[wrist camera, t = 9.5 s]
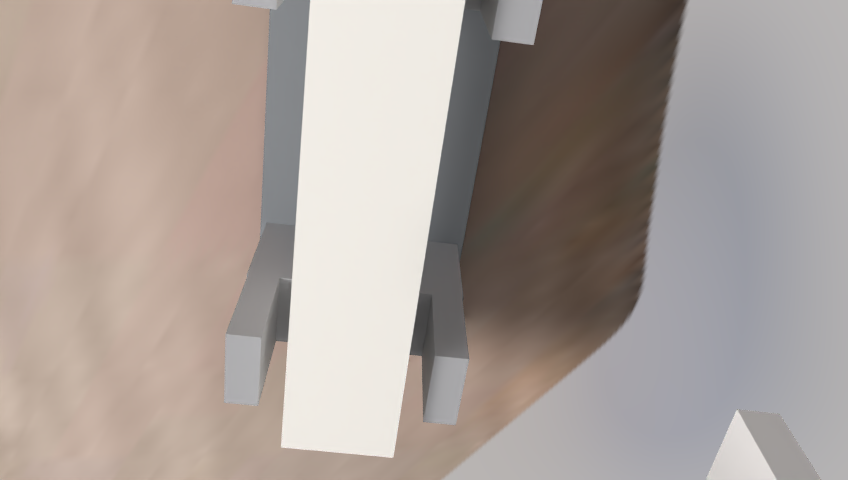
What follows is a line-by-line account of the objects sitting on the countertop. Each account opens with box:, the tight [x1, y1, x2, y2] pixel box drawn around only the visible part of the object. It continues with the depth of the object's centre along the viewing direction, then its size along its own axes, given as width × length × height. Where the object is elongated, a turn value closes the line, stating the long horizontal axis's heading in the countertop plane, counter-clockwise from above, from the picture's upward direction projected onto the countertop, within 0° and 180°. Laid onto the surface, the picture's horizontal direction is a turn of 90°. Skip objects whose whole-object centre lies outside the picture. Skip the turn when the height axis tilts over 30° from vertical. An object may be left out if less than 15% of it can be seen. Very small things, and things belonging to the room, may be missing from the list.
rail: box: [281, 0, 465, 458], centre depth 25 cm, size 18×4×5 cm, turn 172°
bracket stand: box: [224, 0, 543, 425], centre depth 28 cm, size 20×9×10 cm, turn 172°
